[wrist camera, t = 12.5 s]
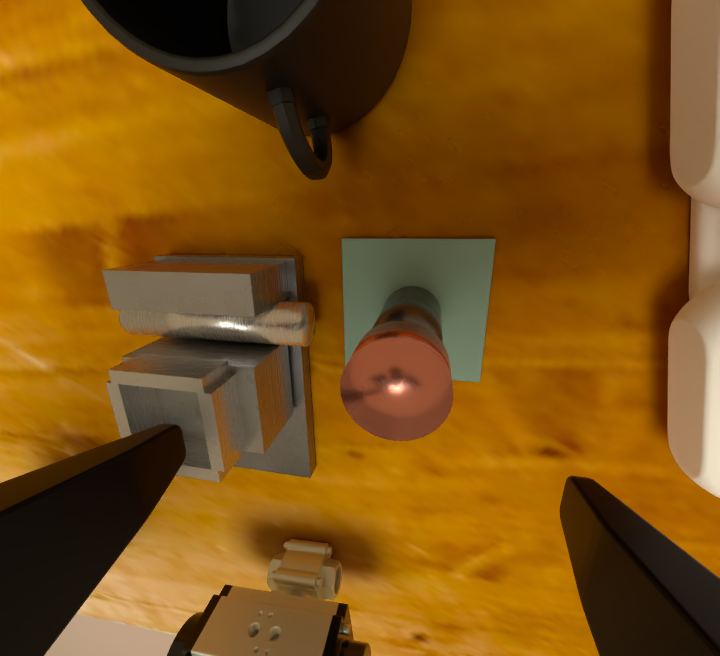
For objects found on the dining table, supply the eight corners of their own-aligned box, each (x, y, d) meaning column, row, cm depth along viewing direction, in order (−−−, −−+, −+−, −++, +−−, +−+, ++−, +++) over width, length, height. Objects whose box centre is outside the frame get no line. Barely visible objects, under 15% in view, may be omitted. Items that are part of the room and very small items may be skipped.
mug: (267, 207, 20) (140, 204, 11) (196, -56, 16) (-59, -338, 8) (434, 164, 17) (433, 121, 9) (391, -155, 14) (321, -720, 5)
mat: (346, 368, 22) (345, 370, 21) (343, 238, 19) (341, 238, 19) (479, 379, 20) (479, 382, 20) (494, 238, 18) (495, 239, 17)
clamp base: (329, 467, 25) (303, 530, 20) (194, 448, 27) (141, 500, 22) (318, 255, 20) (280, 270, 15) (155, 253, 22) (76, 265, 17)
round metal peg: (379, 341, 20) (342, 434, 12) (380, 281, 19) (338, 337, 11) (442, 345, 20) (449, 446, 11) (446, 282, 18) (457, 344, 10)
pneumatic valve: (386, 585, 27) (351, 842, 16) (253, 566, 30) (144, 775, 19) (380, 531, 26) (336, 778, 14) (240, 516, 28) (113, 714, 17)
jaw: (293, 416, 22) (245, 486, 16) (189, 404, 23) (113, 464, 18) (286, 334, 20) (229, 381, 15) (174, 327, 22) (84, 367, 16)
